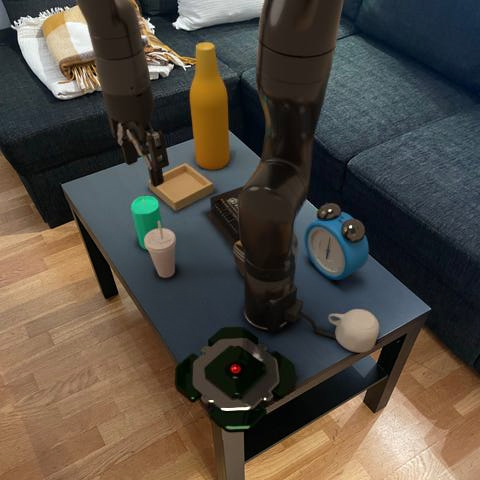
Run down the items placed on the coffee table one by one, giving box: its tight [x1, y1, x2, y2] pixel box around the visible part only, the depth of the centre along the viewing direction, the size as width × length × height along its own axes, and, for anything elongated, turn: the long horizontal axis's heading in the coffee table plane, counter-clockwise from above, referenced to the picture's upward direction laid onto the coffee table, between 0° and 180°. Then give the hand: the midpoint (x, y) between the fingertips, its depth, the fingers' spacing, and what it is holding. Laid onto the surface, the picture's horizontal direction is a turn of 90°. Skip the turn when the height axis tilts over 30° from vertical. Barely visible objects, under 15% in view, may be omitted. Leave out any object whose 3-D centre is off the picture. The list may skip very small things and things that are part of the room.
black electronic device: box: [204, 185, 245, 250], centre depth 105 cm, size 20×14×17 cm
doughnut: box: [232, 241, 244, 278], centre depth 98 cm, size 9×4×10 cm, turn 32°
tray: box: [147, 162, 214, 212], centre depth 119 cm, size 12×12×3 cm
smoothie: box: [144, 221, 177, 279], centre depth 98 cm, size 6×6×14 cm
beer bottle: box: [189, 41, 231, 171], centre depth 117 cm, size 9×9×29 cm
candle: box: [130, 195, 164, 251], centre depth 104 cm, size 6×6×12 cm
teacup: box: [327, 308, 380, 354], centre depth 89 cm, size 10×8×5 cm
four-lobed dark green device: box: [174, 326, 297, 434], centre depth 84 cm, size 18×18×5 cm
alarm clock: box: [304, 202, 370, 283], centre depth 97 cm, size 13×6×15 cm, turn 37°
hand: (144, 173), depth 84 cm, fingers open, 8 cm apart
